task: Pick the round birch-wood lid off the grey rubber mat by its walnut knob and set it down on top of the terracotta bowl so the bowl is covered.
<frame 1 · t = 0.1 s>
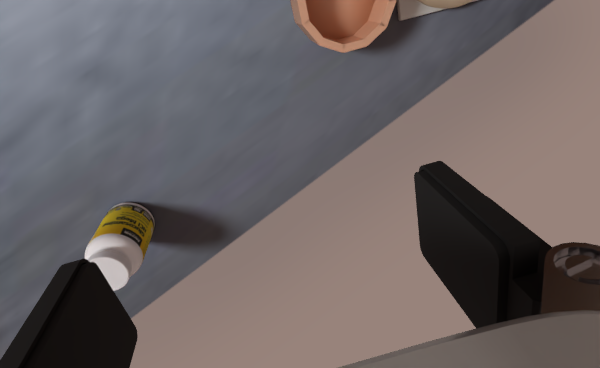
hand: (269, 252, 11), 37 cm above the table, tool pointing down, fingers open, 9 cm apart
pill bottle: (131, 220, 50), on the table
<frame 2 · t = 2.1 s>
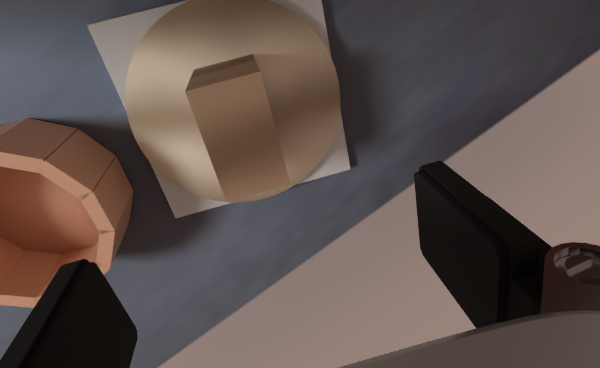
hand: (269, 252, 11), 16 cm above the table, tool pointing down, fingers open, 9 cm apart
lid: (238, 107, 24), point 1 cm above the table, touching mat
bowl: (50, 194, 25), on the table
mat: (237, 105, 24), on the table
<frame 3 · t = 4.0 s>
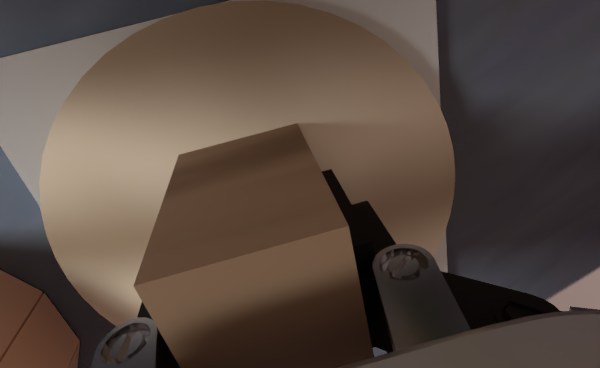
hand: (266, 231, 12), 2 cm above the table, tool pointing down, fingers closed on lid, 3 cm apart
lid: (263, 211, 13), point 1 cm above the table, touching gripper, mat
mat: (262, 203, 13), on the table
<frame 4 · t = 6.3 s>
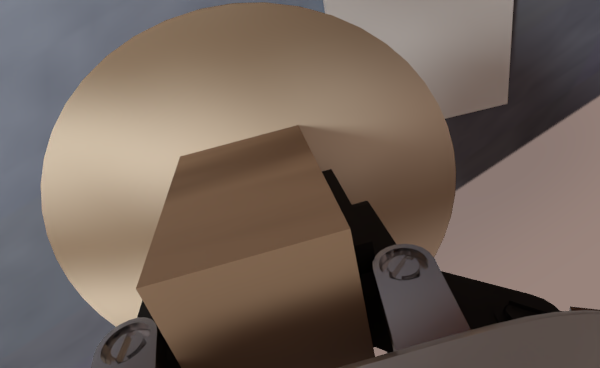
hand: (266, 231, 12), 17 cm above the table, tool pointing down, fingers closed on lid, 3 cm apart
lid: (264, 212, 13), point 16 cm above the table, touching gripper
mat: (420, 33, 27), on the table
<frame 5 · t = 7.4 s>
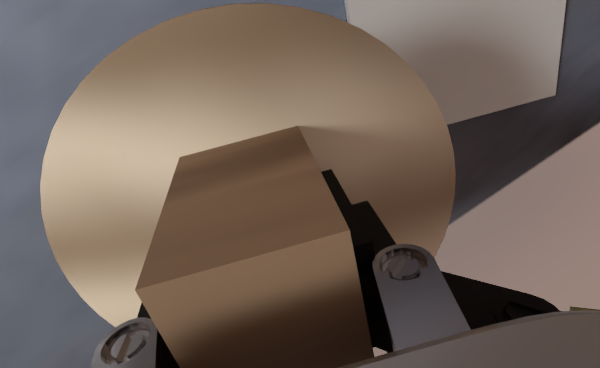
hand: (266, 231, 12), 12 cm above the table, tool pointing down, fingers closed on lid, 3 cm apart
lid: (264, 212, 13), point 11 cm above the table, touching gripper
mat: (456, 13, 22), on the table
when the fingers open (7 cm above the table, at t = 8.6 s): lid stays where it is, resting on bowl.
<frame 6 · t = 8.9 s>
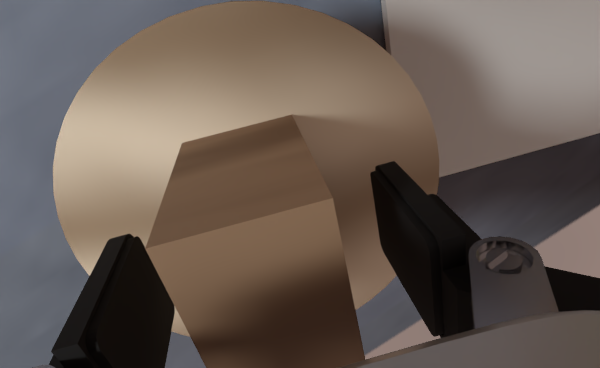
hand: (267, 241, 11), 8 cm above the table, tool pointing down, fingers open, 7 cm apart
lid: (260, 197, 14), point 5 cm above the table, touching bowl
mat: (519, 25, 18), on the table
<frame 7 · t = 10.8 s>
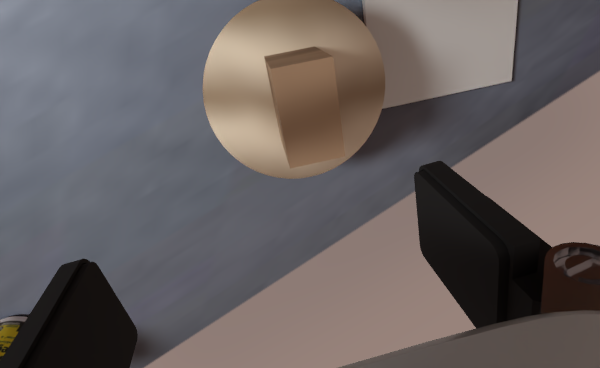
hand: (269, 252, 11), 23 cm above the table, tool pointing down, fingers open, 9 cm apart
lid: (295, 92, 27), point 5 cm above the table, touching bowl
pill bottle: (24, 334, 39), on the table
mat: (439, 17, 31), on the table
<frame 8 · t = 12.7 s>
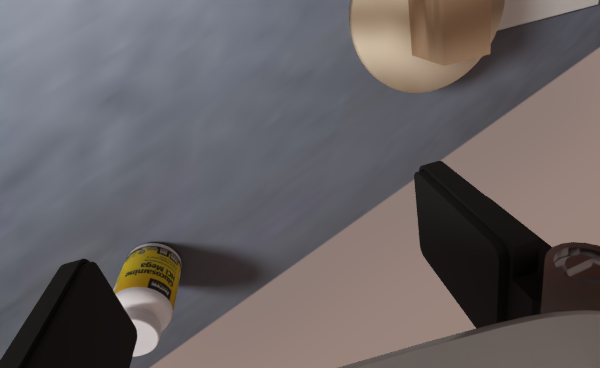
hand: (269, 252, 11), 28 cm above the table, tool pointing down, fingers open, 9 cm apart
lid: (425, 11, 31), point 5 cm above the table, touching bowl
pill bottle: (155, 261, 44), on the table
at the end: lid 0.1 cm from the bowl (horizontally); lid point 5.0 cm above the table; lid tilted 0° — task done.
